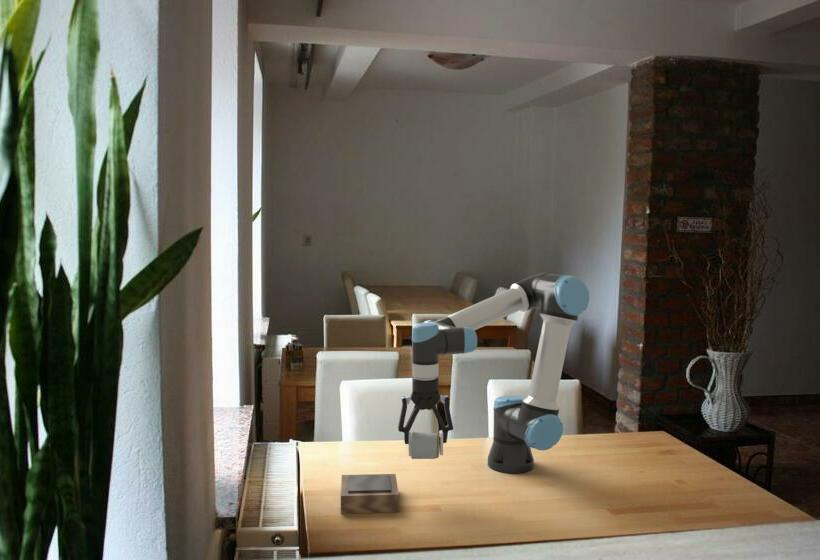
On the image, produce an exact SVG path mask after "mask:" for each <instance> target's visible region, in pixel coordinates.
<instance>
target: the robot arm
mask: <svg viewBox="0 0 820 560" xmlns="http://www.w3.org/2000/svg"><path fill="white" fill-rule="evenodd" d="M589 303H590V291H589V289H588V286H587V284H586V283H585V282H584V281H583V280H582V279H581V278H579V277H577V276H573V275H570V274H561V273H552V272H541V273H537V274H534V275H531V276H528V277H526V278H523V279H522V280H519V281H517V282H515V283H513V284H511V285H510V287H509V289H507V290H504V291H503V292H499V293H498V294H495V295H493V296H491V297H488V298H486V299H484V300H481V301H479V302H477V303H475V304H472V305H470V306H468V307H465V308H462V309H461V310H458V311H456V312H454V313H452V314H449V315H446V316H444V317H441V318H440V319H429V320H426V321H425V320H424V322H417V323H415V324H413V327H412V331H411V347H412V349H411V350H412V352H411V353H412V360H411V361H412V362H411V367H412V370H411V371H412V372H411V373H412V374H411V375H412V377H413V378H412V380H411V381H412V385H411V386H412V388H411V389H412V392H411V395H410V396H405V395H403V396H401V403H402V405H401V409H400V410H401V411H400V416H399V419H398V420H399V421H398V425H397V426H398V427H397V429H398V432H400V433H403V434H404V437H403V438H404V439H403V440H404V441H403V442H404V444H405V445H408V446H407V448H408V449H407V451H408V452H407V454H408V456H409V457H411V442H412V431H411V429H412V427H413V424H414V423H415V421H416V418H417V416H418V414H419V413H420V411H425V410H428V411H431V410H432V412H433V414H434V415H435V418H436V420H437V422H438V424H439V426H440V428H441V430H439V434H438V435H439V436H440V440H439V456H444V444H446V443H447V442H448V441H447V440H448V437H447V436H448V432H449V431H453V430H454V425H453V421H452V415H451V410H450V406H449V405H450V396H449V395H448V394H445V395H442V394H440V393H439V390H440V389H439V383H440V382H439V378H438V377H439V374H440V373H439V369H440V368H439V363H440V362H439V358H440V357H439V356H448V355H459V354H467V353H472V352H474V351H475V350H476V348H477V346H478V335H477V333H476V330H478V329H480V328H483V327H485V326H489V324H492V323H494V322H497V321H499V320H501V319H503V318H506V317H508V316H510V315H513V314H515V313H518V312H519V311H520V312H521V313H522V312H524V313H525V312H527V311H529V310H533V309H540V311H539V315H540V317H541V319H542V325H541V326H542V327H541V331H540V335H539V336H540V337H539V341H538V346H537V351H536V355H535V361H534V365H533V369H532V370H533V371H532V375H531V380H530V385H529V390H528V395H519V394H517V395H516V394H512V395H510V394H509V395H501V396H498V397H496V398H495V399H494V401H493V402H494V403H493V407H492V408H493V436H492V437H493V442H492V445H491V447H490V449H489V453H488V455H487V467H489V468H490V469H492V470H494V471H496V472H500V473H506V474H507V473H508V474H521V473H526V472H529V471H532V470H533V469H534V467H535V459H534V455H533V452H532V449H535V450H538V451H548V450H551V449H552V448H553V447H555V446H556V445H557V444H558V443H559V441H560V440H561V439H562V436H563V433H564V425H563V423H562V420H561V419H560V418H559V412H560V406H559V405H558V404H557V397H558V393H559V387H560V382H561V378H562V374H563V373H562V372H563V368H564V362H565V359H566V358H565V357H566V353H567V347H568V343H569V338H570V334H571V328H572V326H573V325H574V324H576V323H577V322H578V318H579V315H581V314H583V313H584V311H585V310H587V308H588V306H589ZM411 401H412V402H413V404H414V407H413V409H412V412H411V413H410V416H409V417H408V419H407V422H406V424H405V420H406V414H407V411H408V410H407V409H408V405H409V404H410V403H411ZM439 401H441V403H442V404H443V407H444V413H445V418H446V422H447V425H445V422H444V421H443V419H442V416H441V415H440V414H441V413H440V412H439V410H438V409H437V404H438V402H439ZM404 425H405V426H404Z"/></svg>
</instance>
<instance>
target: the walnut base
mask: <svg viewBox="0 0 820 560" xmlns="http://www.w3.org/2000/svg"><path fill="white" fill-rule="evenodd" d="M340 480H341V483H340V484H341V485H340V514H368V513H369V514H375V513H376V514H377V513H378V512H380V513H399V512H400V511H399V510H400V509H399V508H400V507H399V506H400V503H399V502H400V501H399V500H400V498H399V497H400V494H399V488H398V481H397V475H396V473H375V474H374V473H372V474H369V473H366V474H364V473H363V474H341V479H340Z"/></svg>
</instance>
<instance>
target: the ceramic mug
mask: <svg viewBox="0 0 820 560" xmlns="http://www.w3.org/2000/svg"><path fill="white" fill-rule="evenodd" d="M411 439H412V442H411V456H410V457H411V459H412V460H435V459H438V458H439V457H440V452H439V440H440V436H439V434H438V433H435V432H421V431H411Z"/></svg>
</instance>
